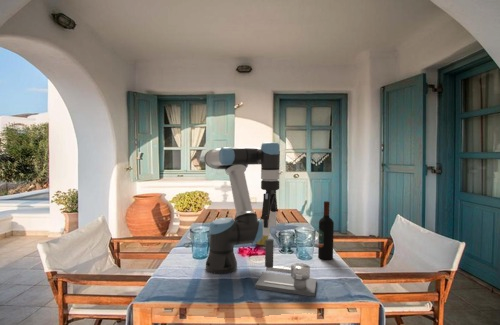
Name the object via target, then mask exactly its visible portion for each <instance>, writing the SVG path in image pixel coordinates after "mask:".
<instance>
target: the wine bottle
mask: <svg viewBox="0 0 500 325" xmlns="http://www.w3.org/2000/svg"><path fill="white" fill-rule="evenodd" d="M334 227H335V226H334V220H333V218H331V217H330V201H324V202H323V216H322V217H321V218H320V219H319V222H318V241H317V242H318V246H317V247H318V248H317V249H318V250H317V256H318V259H319V260H321V261H326V262H327V261H328V262H329V261H333V259H334V231H335V230H334Z"/></svg>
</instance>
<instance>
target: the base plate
mask: <svg viewBox="0 0 500 325" xmlns="http://www.w3.org/2000/svg"><path fill="white" fill-rule="evenodd" d="M254 285H255V286H254V288H255V289H258V290H266V291H272V292H278V293H279V292H280V293H287V294H294V295H299V296H307V297H308V296H309V297H315V295H316V289H317V288H316V287H317V278H314V277H310V278H309V279H308V280H304V281H300V280H295V279H293V278H292V277H291V274H281V273H274V272H272V273H271V272H267V271H266V272H264V271H262V272H261V274H260V276H259V278H258V280H257V281H256V283H255V284H254Z"/></svg>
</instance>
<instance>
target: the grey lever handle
mask: <svg viewBox="0 0 500 325" xmlns="http://www.w3.org/2000/svg"><path fill="white" fill-rule="evenodd" d="M264 249H265V250H264V251H265V252H264V266H265V269H266V272H273V273H274V272H276V273H284V274H289V275H290V276H291V277H292V278H293V279H295V280H300V281H304V280H308V279H309V278H311V266H309V265H308V264H306V263H301V262H298V263H297V262H296V263H292V264H291V265H290V267H288V266H282V265H274V239H271V238H268V239H266V240H265V245H264Z"/></svg>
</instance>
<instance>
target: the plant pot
mask: <svg viewBox="0 0 500 325" xmlns="http://www.w3.org/2000/svg"><path fill="white" fill-rule="evenodd" d="M266 239H269V236H265V235H263V237H262V239H261V240H260V241H259V242H256V243H255V244H256V245H258V246H265V240H266Z"/></svg>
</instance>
